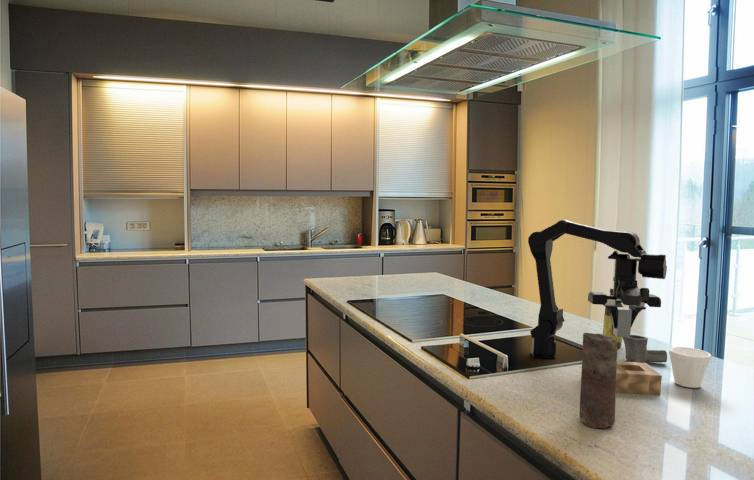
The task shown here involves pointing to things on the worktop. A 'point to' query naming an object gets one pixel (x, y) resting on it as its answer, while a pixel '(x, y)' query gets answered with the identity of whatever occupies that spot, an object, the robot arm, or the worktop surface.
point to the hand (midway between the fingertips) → (621, 328)
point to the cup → (689, 366)
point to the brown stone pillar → (598, 380)
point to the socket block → (637, 378)
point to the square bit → (623, 322)
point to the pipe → (642, 350)
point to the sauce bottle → (608, 323)
